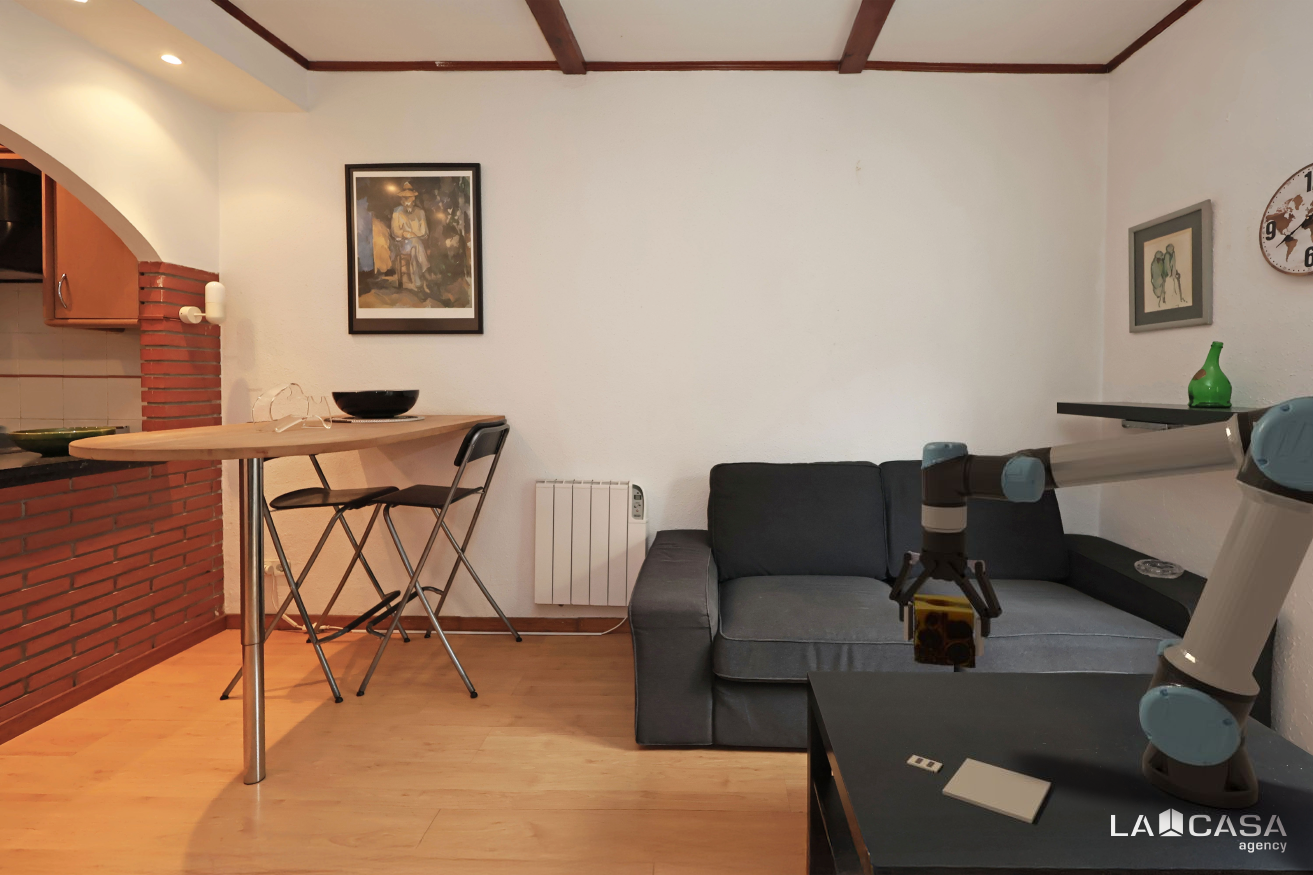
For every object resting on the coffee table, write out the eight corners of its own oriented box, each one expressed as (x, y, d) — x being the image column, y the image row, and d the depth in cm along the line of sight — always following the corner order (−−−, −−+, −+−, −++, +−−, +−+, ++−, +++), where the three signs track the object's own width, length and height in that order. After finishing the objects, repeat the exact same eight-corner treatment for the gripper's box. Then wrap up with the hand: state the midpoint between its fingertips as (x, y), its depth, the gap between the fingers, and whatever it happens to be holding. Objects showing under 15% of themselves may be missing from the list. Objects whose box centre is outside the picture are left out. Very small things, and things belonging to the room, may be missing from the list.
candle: (976, 669, 126) (976, 612, 125) (914, 663, 129) (914, 608, 129) (970, 649, 136) (970, 596, 135) (912, 644, 139) (913, 593, 138)
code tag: (942, 765, 126) (942, 763, 126) (936, 772, 124) (936, 770, 124) (913, 756, 129) (913, 754, 129) (907, 763, 127) (907, 761, 127)
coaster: (1050, 785, 119) (1050, 782, 119) (1031, 823, 109) (1031, 819, 109) (967, 761, 127) (967, 757, 127) (942, 793, 117) (942, 790, 117)
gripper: (1022, 532, 126) (1020, 654, 127) (886, 518, 141) (886, 628, 143) (1011, 539, 120) (1009, 667, 122) (870, 524, 136) (870, 638, 137)
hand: (943, 646), depth 132 cm, fingers closed on candle, 12 cm apart
